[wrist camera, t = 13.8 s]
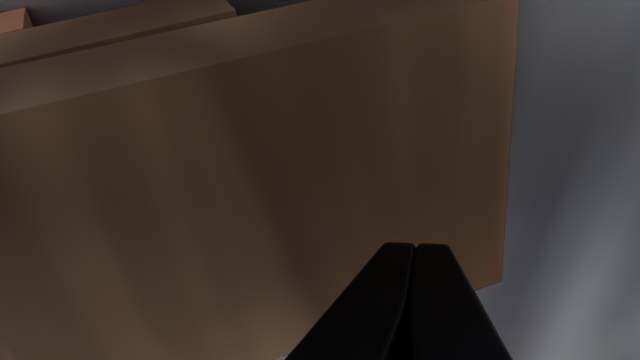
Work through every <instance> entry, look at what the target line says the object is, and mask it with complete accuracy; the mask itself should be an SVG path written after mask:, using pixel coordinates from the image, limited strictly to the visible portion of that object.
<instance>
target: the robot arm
mask: <svg viewBox="0 0 640 360" xmlns="http://www.w3.org/2000/svg"><path fill="white" fill-rule="evenodd" d="M285 360H513V359H512V357H511V356H510V354H509V352H508V350H507V348H506V347H505V345H504V343H503V341H502V339H501V338H500V336H499V334H498V332H497V330H496V329H495V327H494V325H493V323H492V321H491V320H490V318H489V316H488V314H487V313H486V311H485V309H484V307H483V305H482V304H481V302H480V300H479V298H478V296H477V295H476V293H475V291H474V289H473V287H472V286H471V284H470V282H469V280H468V278H467V277H466V275H465V273H464V271H463V269H462V268H461V266H460V264H459V262H458V260H457V259H456V257H455V255H454V253H453V251H452V250H451V248H450V247H449V246H448V245H447V244H436V243H420V244H418V246H417V247H415V245H414V244H413V243H405V242H386V243H384V244H383V245H382V246H381V247H380V248H379V249H378V251H377V252H376V253H375V254H374V255H373V256H372V258H371V259H370V260H369V261H368V262H367V264H366V265H365V266H364V267H363V268H362V269H361V271H360V272H359V273H358V274H357V275H356V276H355V278H354V279H353V280H352V281H351V282H350V283H349V285H348V286H347V287H346V288H345V289H344V291H343V292H342V293H341V294H340V295H339V296H338V298H337V299H336V300H335V301H334V302H333V303H332V305H331V306H330V307H329V308H328V309H327V310H326V312H325V313H324V314H323V315H322V316H321V318H320V319H319V320H318V321H317V322H316V323H315V325H314V326H313V327H312V328H311V329H310V330H309V332H308V333H307V334H306V335H305V336H304V338H303V339H302V340H301V341H300V342H299V343H298V345H297V346H296V347H295V348H294V349H293V350H292V352H291V353H290V354H289V355H288V356H287V357H286V359H285Z"/></svg>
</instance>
